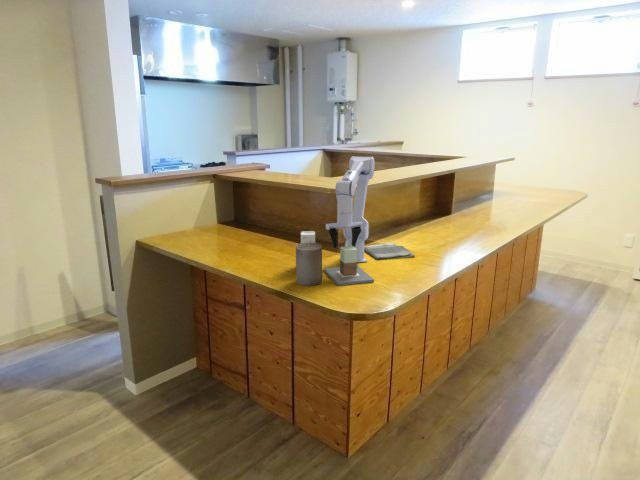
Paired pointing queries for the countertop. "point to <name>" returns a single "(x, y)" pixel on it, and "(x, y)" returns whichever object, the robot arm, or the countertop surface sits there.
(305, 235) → the syrup box
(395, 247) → the dish towel
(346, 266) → the walnut block
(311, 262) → the pillar candle
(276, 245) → the countertop surface
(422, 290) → the countertop surface
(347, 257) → the sage block
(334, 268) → the base plate
